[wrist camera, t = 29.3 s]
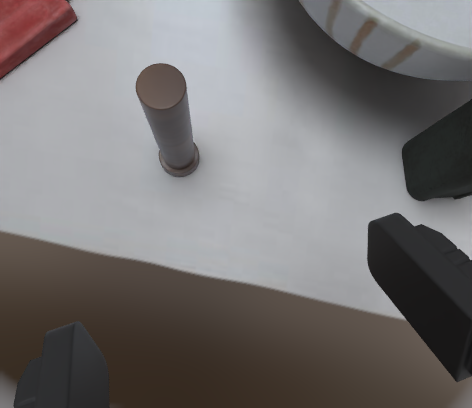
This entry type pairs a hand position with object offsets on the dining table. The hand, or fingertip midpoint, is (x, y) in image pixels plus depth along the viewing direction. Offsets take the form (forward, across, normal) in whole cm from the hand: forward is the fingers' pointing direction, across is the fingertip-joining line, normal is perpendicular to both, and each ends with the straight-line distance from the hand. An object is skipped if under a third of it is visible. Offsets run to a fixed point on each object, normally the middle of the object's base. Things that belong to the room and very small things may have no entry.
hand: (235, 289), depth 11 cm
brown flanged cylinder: (+20, 0, +6) cm, 21 cm away
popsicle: (+31, +8, -4) cm, 32 cm away
